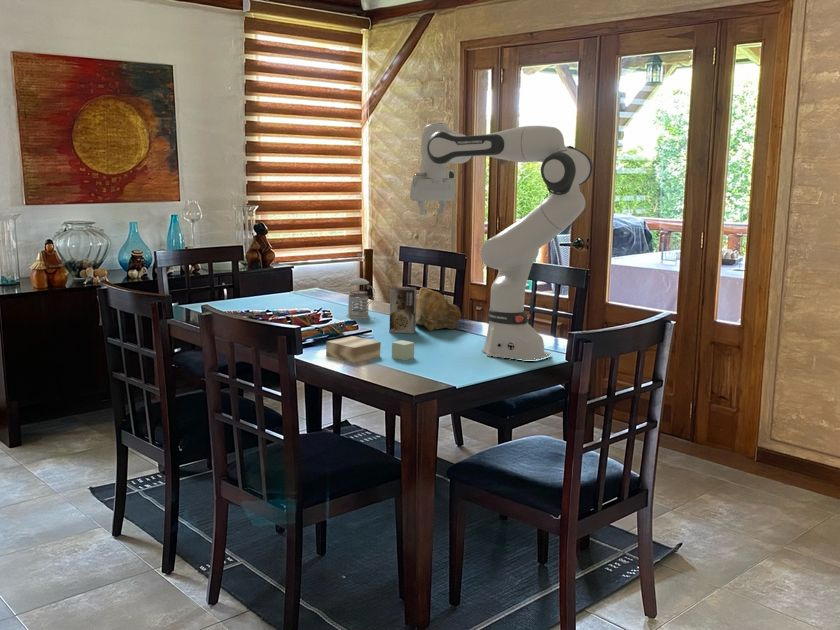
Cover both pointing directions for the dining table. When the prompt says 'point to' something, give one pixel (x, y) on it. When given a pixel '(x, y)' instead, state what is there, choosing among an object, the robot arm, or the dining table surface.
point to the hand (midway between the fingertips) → (431, 214)
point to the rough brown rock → (435, 310)
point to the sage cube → (403, 350)
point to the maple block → (353, 349)
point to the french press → (359, 299)
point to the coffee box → (402, 309)
